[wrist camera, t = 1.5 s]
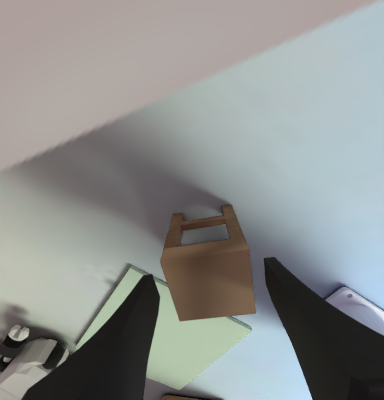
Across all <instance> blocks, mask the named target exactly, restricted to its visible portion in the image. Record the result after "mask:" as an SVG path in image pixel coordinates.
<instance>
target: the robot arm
mask: <svg viewBox="0 0 384 400" xmlns="http://www.w3.org/2000/svg"><path fill="white" fill-rule="evenodd" d="M264 267H265V280H266V286H267V288H268V291H269V294H270V297H271V300H272V302H273V304H274V306H275V309H276V311H277V313H278V315H279V317H280V319H281V321H282V323H283V326H284V328H285V330H286V332H287V334H288V336H289V338H290V341H291V343H292V345H293V347H294V350H295V353H296V355H297V358H298V361H299V363H300V366H301V369H302V371H303V374H304V377H305V380H306V382H307V385H308V388H309V391H310V393H311V396H312V399H313V400H384V311H383V310H382V309H380V308H379V307H377V306H376V305H374V304H372V303H371V302H369V301H368V300H366V299H365V298H363V297H362V296H360V295H358V294H357V293H355V292H354V291H352V290H351V289H349V288H347V287H342V288H340V289H339V290H337V291H336V292H335V293H334V294H332V295H331V296H330V297H328V298H327V299H326V300H324V299H323V298H321V297H320V296H319V295H317V294H316V293H315V292H313V291H312V290H311V289H310V288H308V287H307V286H306V285H305V284H303V283H302V282H301V281H300V280H299V279H298V278H296V277H295V276H294V275H293V274H292V273H291V272H290V271H289V270H287V269H286V268H285V267H284V266H283V265H282V264H281V263H280V262H279V261H278V260H277V259H276V258H275V257H271V258H264ZM159 305H160V295H159V292H158V289H157V286H156V283H155V281H154V278H153V275H152V274H149V275H143V276H142V278H141V279H140V280H139V282H138V283H137V284H136V286H135V287H134V288H133V290H132V291H131V292H130V294H129V295H128V296H127V297H126V299H125V300H124V301H123V303H122V304H121V305H120V306H119V307H118V309H117V310H116V311H115V312H114V313H113V315H112V316H111V317H110V318H109V319H108V320H107V321H106V322H105V324H104V325H103V326H102V327H101V328H100V329H99V330H98V331H97V332H96V333H95V334H94V335H93V336H92V337H91V338H90V339H89V340H88V341H86V342H85V343H84V344H83V345H82V346H81V347H80V348H79V349H78V350H77V351H76V352H74V353H73V354H72V355H71V356H70V357H69V358H67V359H66V360H65V361H64V362H63V363H61V364H60V365H59V366H58V367H56V368H55V369H54V370H53V371H51V372H50V373H49V374H47V375H46V376H45V377H43V378H42V379H41V380H39V381H38V382H37V383H35V384H34V385H33V386H31V387H30V388H28V389H27V391H26V393H25V394H24V396H23V397H22V399H21V400H143V395H144V387H145V379H146V372H147V365H148V359H149V353H150V349H151V344H152V340H153V336H154V331H155V327H156V322H157V318H158V313H159Z"/></svg>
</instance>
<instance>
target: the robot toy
mask: <svg viewBox="0 0 384 400" xmlns="http://www.w3.org/2000/svg"><path fill="white" fill-rule="evenodd" d="M20 327H21V326H19V325H15V326H14V327H12V328H11V330H10V331H9V334H8V335H7V337H6V339H5V341H4V342H3V344H2V347H1V349H0V400H21V399H22V397H23V396H24V394H25V393H26V391H27V389H28V388H30V387H31V386H33V385H34V384H35V383H37V382H38V381H39V380H41V379H42V378H43V377H45V376H46V375H47V374H49V373H50V372H51V371H53V370H54V369H55V368H56V367H58V366H59V365H60V364H61V363H63V362H64V361H65V360H66V358H67V356H68V354H69V351H68V349H66V350H64V348H63V347H62V346H61V345H56V343H57V342H58V341H55V340H51V339H49V340H47V339H45V338H42V337H41V338H40V339H36V340H34V341H31V342H29V343H28V344H26V345H25V343H26V341H27V338H28V336H29V334H30V333H29V329H28V328H25V327H24V328H23V329H20ZM24 345H25V346H24Z"/></svg>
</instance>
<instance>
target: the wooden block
mask: <svg viewBox="0 0 384 400" xmlns="http://www.w3.org/2000/svg"><path fill="white" fill-rule="evenodd" d="M161 400H200V399H193V398H186V397H179V396H171V395H166V396H163V397H162V398H161Z"/></svg>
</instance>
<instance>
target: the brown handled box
mask: <svg viewBox="0 0 384 400" xmlns="http://www.w3.org/2000/svg"><path fill="white" fill-rule="evenodd" d="M222 210H223V215H222V216H216V217H210V218H204V219H198V220H192V221H186V222H184V218H183V214H182V213H179V214H173V217H172V220H171V224H170V227H169V231H168V235H167V238H166V242H165V246H164V249H163V253H162V257H161V260H160V263H161V266H162V269H163V272H164V275H165V279H166V282H167V285H168V288H169V291H170V294H171V297H172V300H173V303H174V306H175V309H176V312H177V315H178V319H179V322H181V321H190V320H199V319H208V318H218V317H227V316H236V315H245V314H254V313H256V309H255V300H254V290H253V281H252V272H251V263H250V254H249V248H248V245H247V243H246V240H245V238H244V235H243V233H242V230H241V228H240V225H239V222H238V220H237V217H236V215H235V212H234V210H233V207H232V205H227V206H222ZM223 224H226V227H227V231H228V235H229V239H226V240H220V241H213V242H206V243H200V244H193V245H186V246H181V239H182V232H183V231H185V230H191V229H197V228H204V227H210V226H216V225H223Z"/></svg>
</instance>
